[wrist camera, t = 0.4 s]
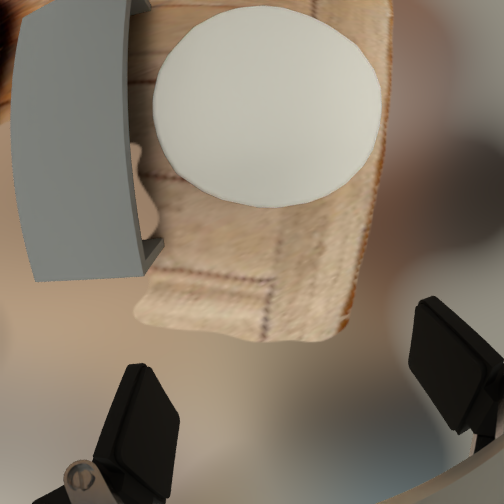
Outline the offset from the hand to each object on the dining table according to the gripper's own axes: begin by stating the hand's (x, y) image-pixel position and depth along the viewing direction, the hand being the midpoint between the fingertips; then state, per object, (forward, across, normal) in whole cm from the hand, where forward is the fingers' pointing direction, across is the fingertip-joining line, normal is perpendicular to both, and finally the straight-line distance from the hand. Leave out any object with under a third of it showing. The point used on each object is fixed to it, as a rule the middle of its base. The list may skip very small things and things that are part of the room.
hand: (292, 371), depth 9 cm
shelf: (+30, +18, -16) cm, 38 cm away
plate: (+30, -5, -13) cm, 33 cm away
